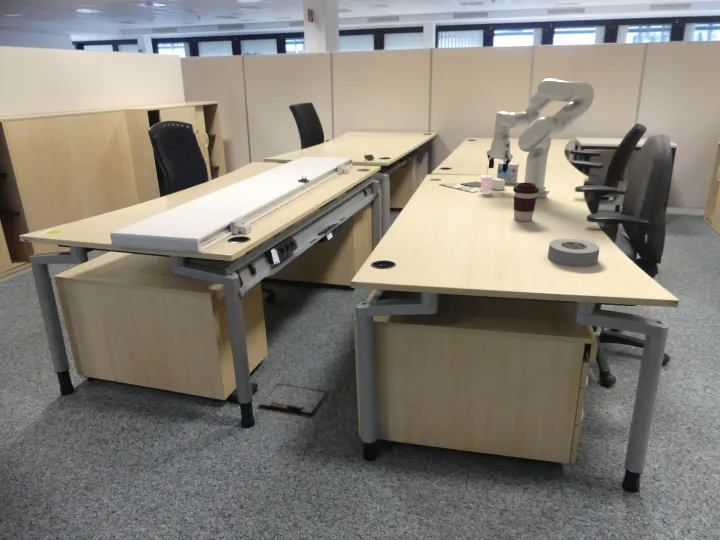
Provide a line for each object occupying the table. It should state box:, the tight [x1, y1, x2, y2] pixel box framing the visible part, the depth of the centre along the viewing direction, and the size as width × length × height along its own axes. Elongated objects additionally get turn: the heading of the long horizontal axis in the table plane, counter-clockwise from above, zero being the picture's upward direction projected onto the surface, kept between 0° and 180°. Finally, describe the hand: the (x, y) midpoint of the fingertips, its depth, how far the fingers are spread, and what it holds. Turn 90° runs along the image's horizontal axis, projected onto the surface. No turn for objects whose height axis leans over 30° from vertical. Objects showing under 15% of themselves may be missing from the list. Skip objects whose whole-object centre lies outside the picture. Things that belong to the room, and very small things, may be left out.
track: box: [438, 182, 481, 193], centre depth 288 cm, size 26×9×1 cm, turn 33°
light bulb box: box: [496, 161, 520, 185], centre depth 300 cm, size 11×7×11 cm, turn 68°
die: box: [491, 177, 506, 191], centre depth 284 cm, size 5×5×5 cm
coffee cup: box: [512, 182, 539, 222], centre depth 221 cm, size 10×10×15 cm
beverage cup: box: [480, 165, 494, 195], centre depth 271 cm, size 6×6×14 cm
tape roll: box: [547, 238, 600, 268], centre depth 174 cm, size 15×15×5 cm
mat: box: [461, 181, 481, 188], centre depth 295 cm, size 12×12×1 cm
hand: (497, 169), depth 282 cm, fingers open, 9 cm apart
